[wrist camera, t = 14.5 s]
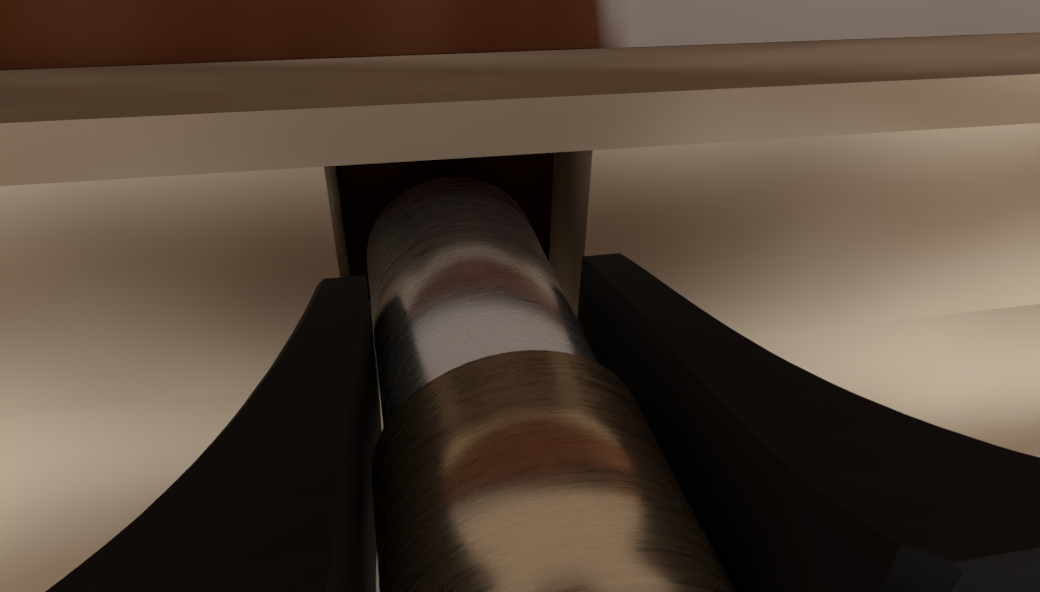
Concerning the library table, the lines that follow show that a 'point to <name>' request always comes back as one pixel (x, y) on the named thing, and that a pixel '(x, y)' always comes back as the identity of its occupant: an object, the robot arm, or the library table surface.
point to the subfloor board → (573, 231)
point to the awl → (508, 420)
